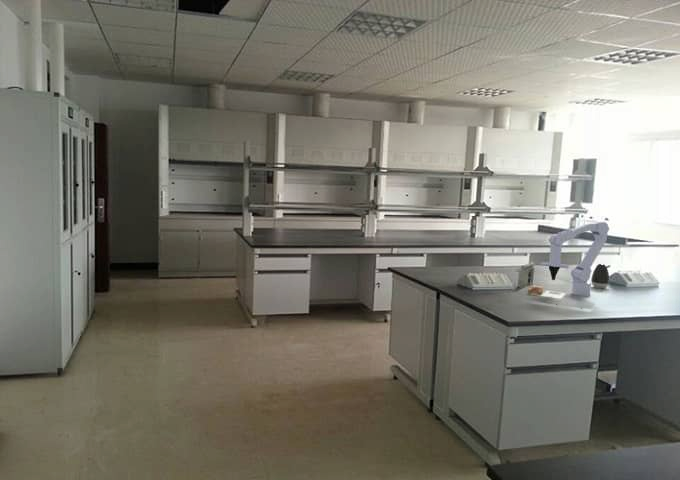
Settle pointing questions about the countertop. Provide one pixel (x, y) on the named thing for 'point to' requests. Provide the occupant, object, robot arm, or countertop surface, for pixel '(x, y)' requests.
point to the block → (537, 290)
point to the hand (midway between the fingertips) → (553, 279)
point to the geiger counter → (526, 275)
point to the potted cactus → (600, 276)
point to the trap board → (547, 294)
